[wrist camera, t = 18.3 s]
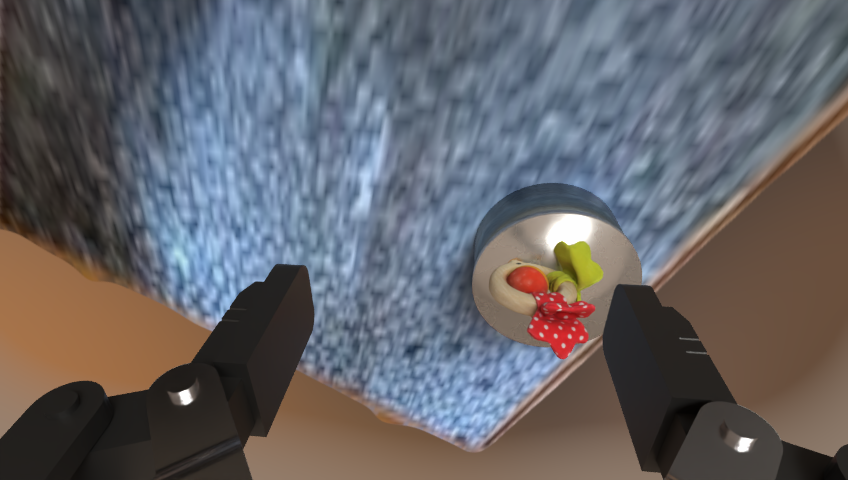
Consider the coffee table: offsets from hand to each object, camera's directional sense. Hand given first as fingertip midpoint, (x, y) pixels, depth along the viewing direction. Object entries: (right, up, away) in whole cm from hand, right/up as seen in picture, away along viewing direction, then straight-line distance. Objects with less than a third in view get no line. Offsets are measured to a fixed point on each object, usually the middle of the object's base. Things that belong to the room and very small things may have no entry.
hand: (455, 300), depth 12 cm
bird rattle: (+10, 0, +30) cm, 32 cm away
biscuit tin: (+12, +1, +37) cm, 39 cm away
